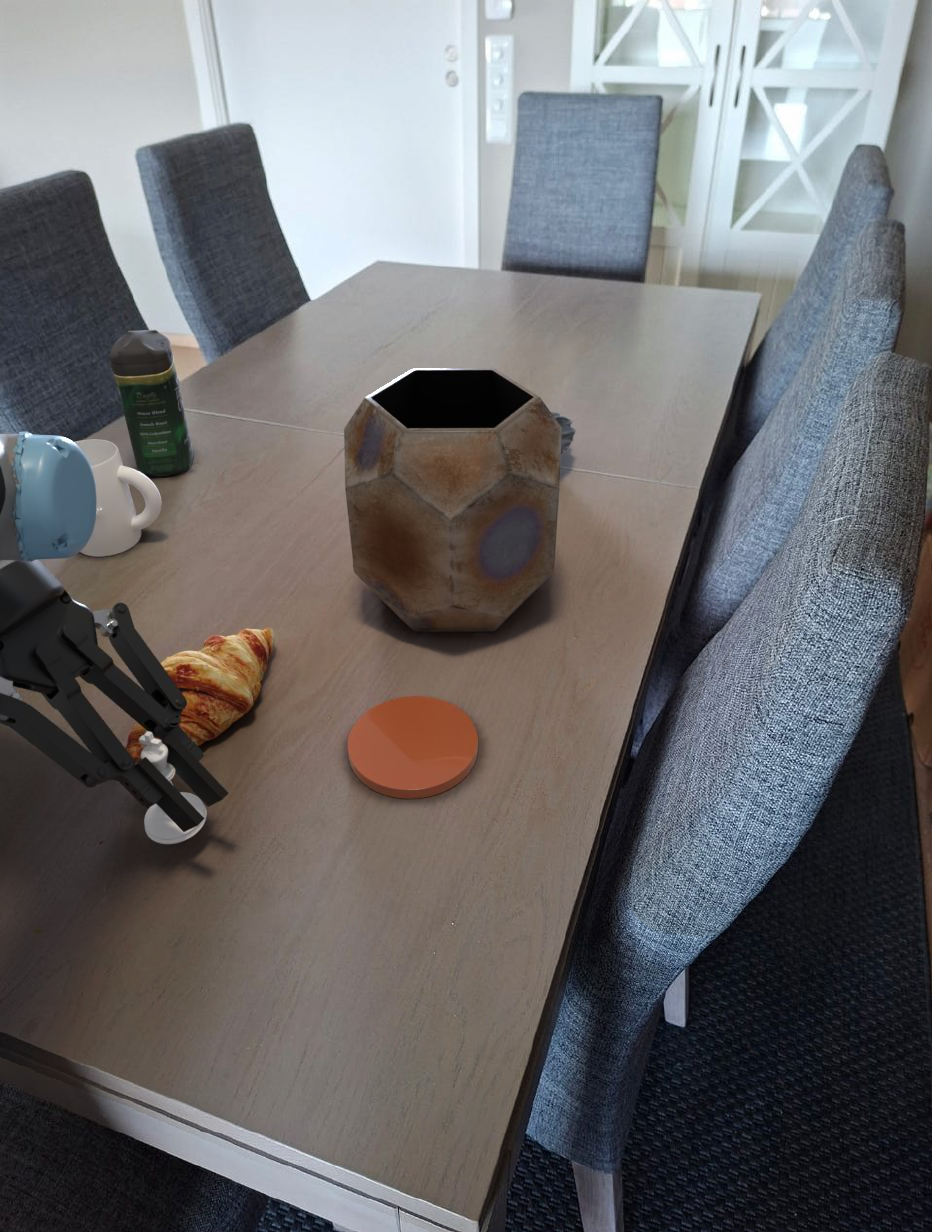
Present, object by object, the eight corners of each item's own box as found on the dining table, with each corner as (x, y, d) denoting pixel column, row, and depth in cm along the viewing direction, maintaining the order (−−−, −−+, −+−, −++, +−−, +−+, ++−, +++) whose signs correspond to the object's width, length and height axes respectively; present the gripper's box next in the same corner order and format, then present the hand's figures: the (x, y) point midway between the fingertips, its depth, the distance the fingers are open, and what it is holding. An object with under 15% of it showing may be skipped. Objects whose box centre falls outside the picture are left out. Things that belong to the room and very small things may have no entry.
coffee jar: (193, 476, 124) (164, 347, 113) (135, 481, 123) (100, 352, 112) (197, 445, 132) (171, 322, 120) (143, 450, 130) (111, 326, 119)
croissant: (255, 662, 96) (216, 602, 94) (319, 649, 91) (280, 585, 88) (121, 795, 81) (69, 728, 78) (189, 789, 75) (136, 716, 72)
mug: (160, 559, 107) (137, 471, 100) (64, 558, 107) (34, 470, 100) (180, 523, 114) (159, 439, 106) (89, 522, 114) (63, 438, 107)
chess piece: (167, 790, 74) (139, 705, 68) (218, 804, 73) (194, 718, 67) (132, 835, 71) (99, 749, 64) (185, 851, 69) (157, 764, 63)
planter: (348, 659, 92) (324, 454, 77) (370, 535, 111) (354, 352, 96) (559, 659, 91) (574, 453, 77) (544, 535, 111) (554, 351, 96)
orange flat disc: (342, 800, 76) (341, 790, 76) (354, 705, 86) (353, 696, 85) (479, 798, 76) (479, 788, 76) (476, 703, 86) (476, 694, 85)
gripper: (54, 554, 72) (246, 760, 76) (-116, 660, 62) (118, 893, 66) (83, 514, 67) (287, 737, 71) (-97, 622, 57) (155, 878, 61)
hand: (206, 812), depth 68 cm, fingers closed on chess piece, 2 cm apart
